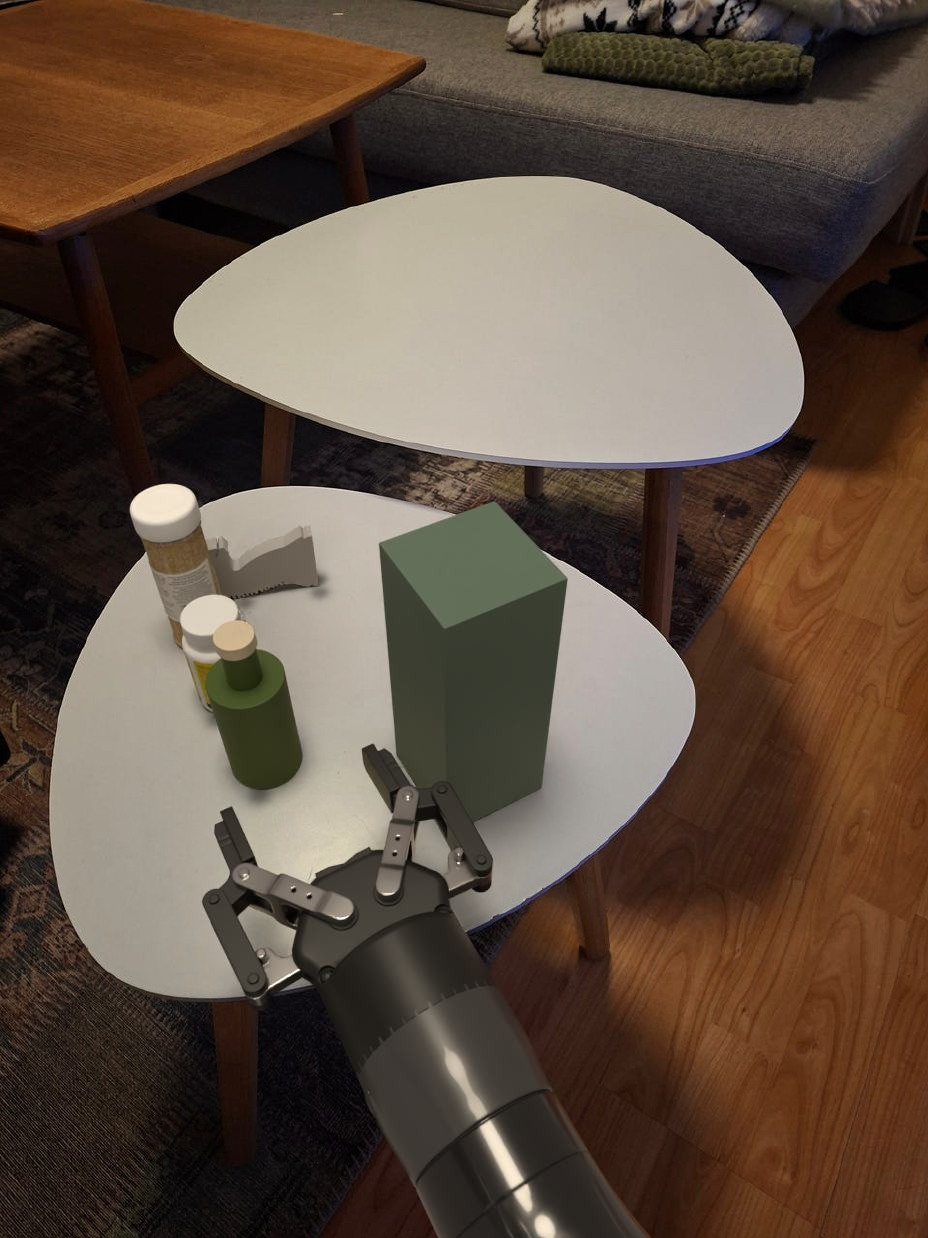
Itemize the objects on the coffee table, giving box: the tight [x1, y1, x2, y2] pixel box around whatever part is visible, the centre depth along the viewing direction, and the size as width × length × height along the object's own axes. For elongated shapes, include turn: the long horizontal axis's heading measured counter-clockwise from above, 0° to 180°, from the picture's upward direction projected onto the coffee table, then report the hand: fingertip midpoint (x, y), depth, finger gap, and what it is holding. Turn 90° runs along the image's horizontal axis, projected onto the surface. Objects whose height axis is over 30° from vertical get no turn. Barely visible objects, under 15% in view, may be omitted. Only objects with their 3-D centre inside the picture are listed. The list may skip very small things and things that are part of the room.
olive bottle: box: [205, 620, 303, 790], centre depth 58 cm, size 5×5×13 cm
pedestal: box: [378, 501, 569, 823], centre depth 55 cm, size 8×8×20 cm
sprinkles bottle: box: [129, 483, 221, 649], centre depth 66 cm, size 5×5×14 cm
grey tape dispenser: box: [205, 524, 320, 600], centre depth 73 cm, size 6×1×10 cm
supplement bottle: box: [180, 595, 244, 713], centre depth 64 cm, size 5×5×8 cm
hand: (299, 784), depth 50 cm, fingers open, 8 cm apart
